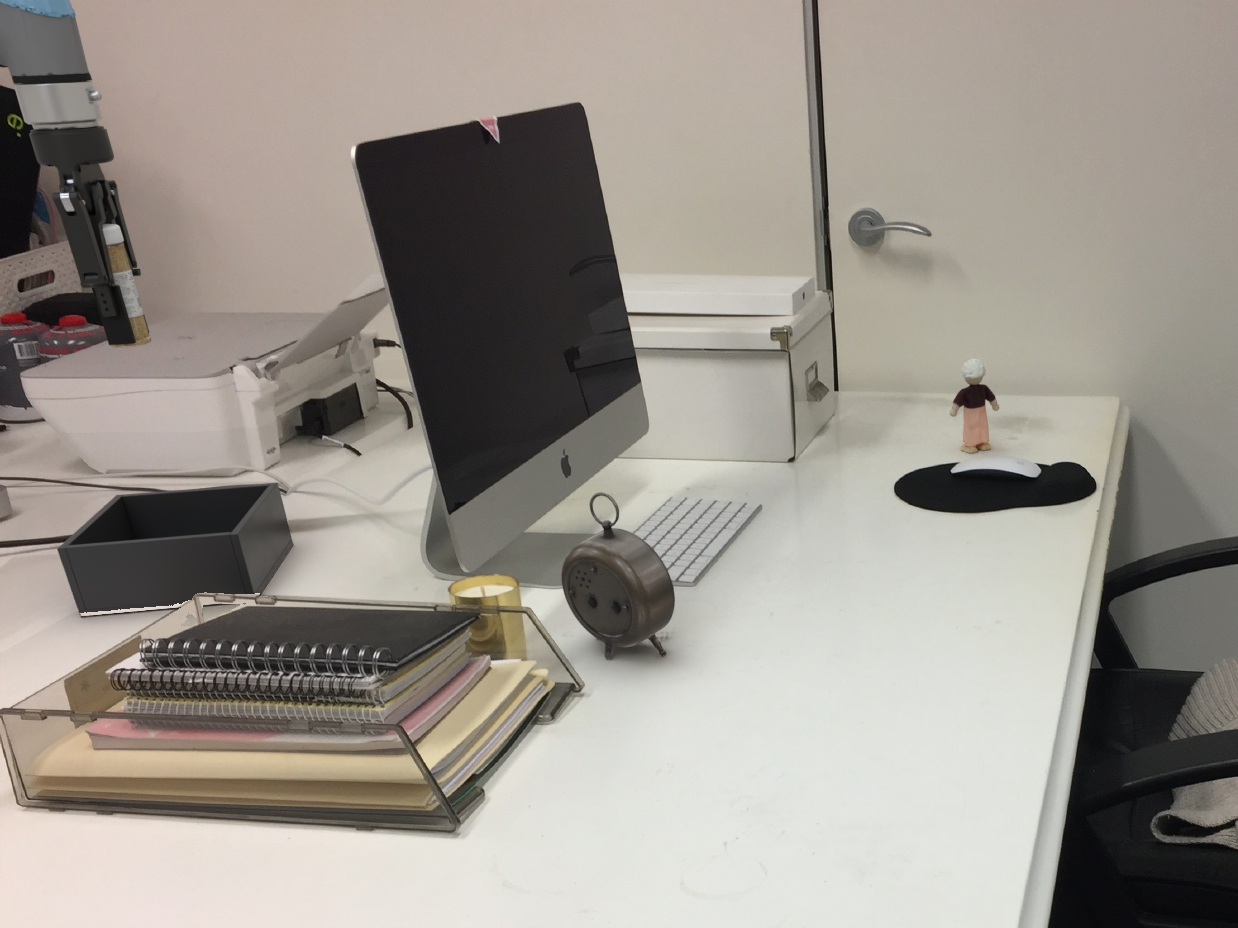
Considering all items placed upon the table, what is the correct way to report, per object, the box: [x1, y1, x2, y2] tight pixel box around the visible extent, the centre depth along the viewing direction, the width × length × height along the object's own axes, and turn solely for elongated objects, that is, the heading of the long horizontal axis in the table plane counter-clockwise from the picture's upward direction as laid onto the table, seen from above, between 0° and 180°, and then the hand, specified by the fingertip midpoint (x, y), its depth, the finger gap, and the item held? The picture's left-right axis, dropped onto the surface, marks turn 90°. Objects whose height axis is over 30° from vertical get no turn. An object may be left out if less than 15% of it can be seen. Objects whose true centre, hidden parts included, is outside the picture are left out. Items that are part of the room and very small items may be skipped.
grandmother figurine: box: [949, 358, 1000, 454], centre depth 181 cm, size 8×4×13 cm, turn 130°
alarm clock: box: [561, 491, 676, 660], centre depth 124 cm, size 11×5×16 cm, turn 59°
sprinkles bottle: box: [103, 224, 152, 349], centre depth 152 cm, size 5×5×13 cm
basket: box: [56, 482, 295, 614], centre depth 146 cm, size 18×18×8 cm
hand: (129, 338), depth 155 cm, fingers closed on sprinkles bottle, 4 cm apart
